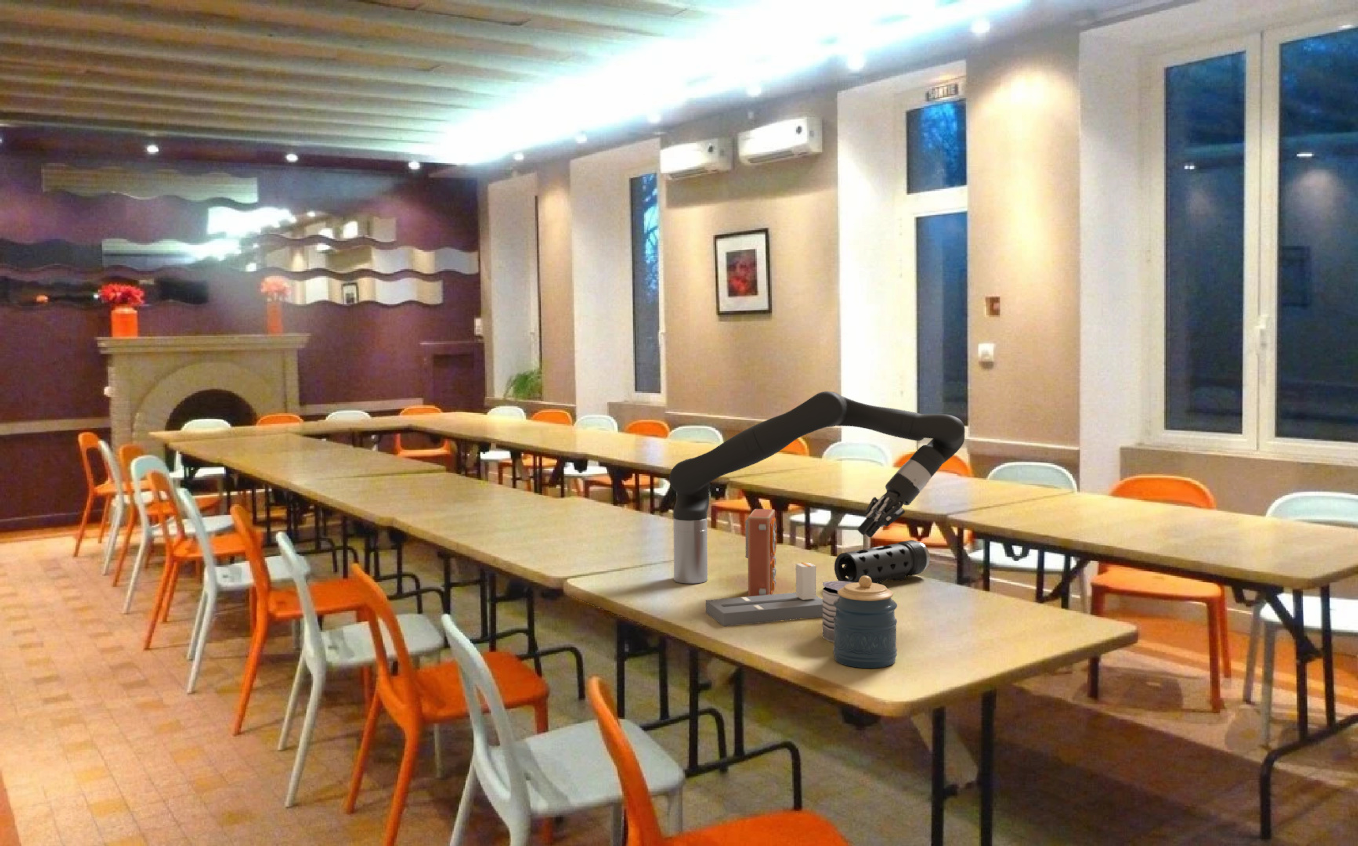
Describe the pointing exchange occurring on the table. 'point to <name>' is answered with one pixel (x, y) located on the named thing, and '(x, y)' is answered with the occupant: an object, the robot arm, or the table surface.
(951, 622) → the table surface
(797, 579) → the fader tab
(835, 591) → the can
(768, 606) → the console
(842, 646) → the canister
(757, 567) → the control panel
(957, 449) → the robot arm
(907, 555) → the muzzle brake
